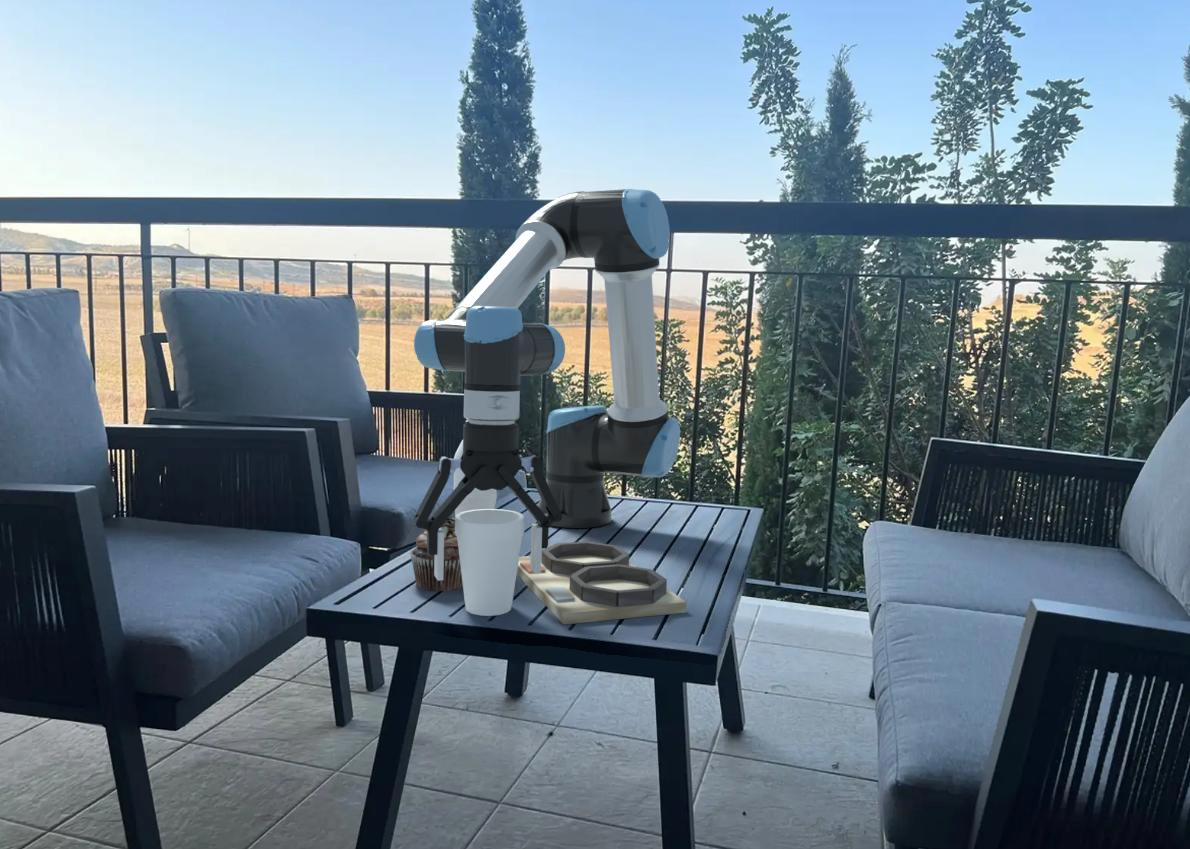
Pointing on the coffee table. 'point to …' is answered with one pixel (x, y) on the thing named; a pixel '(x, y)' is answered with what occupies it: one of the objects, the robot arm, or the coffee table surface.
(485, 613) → the foam cup
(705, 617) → the coffee table surface
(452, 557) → the cupcake
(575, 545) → the socket board
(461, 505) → the water bottle
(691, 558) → the coffee table surface
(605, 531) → the coffee table surface
